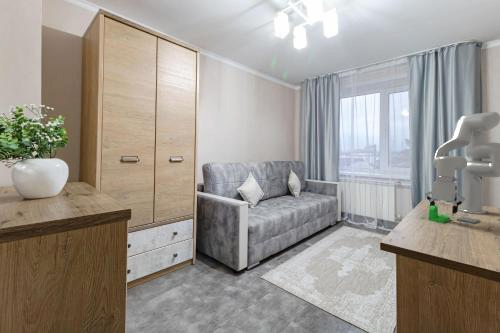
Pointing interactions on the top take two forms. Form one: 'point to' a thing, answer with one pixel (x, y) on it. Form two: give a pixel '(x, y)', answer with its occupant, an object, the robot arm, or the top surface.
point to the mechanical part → (437, 215)
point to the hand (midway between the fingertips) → (443, 211)
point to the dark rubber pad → (468, 220)
